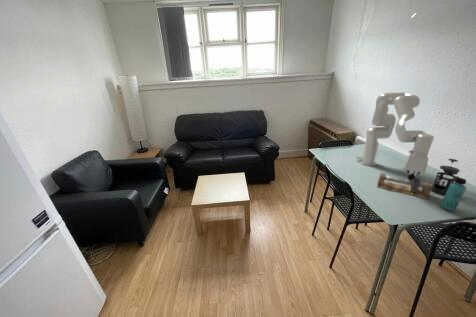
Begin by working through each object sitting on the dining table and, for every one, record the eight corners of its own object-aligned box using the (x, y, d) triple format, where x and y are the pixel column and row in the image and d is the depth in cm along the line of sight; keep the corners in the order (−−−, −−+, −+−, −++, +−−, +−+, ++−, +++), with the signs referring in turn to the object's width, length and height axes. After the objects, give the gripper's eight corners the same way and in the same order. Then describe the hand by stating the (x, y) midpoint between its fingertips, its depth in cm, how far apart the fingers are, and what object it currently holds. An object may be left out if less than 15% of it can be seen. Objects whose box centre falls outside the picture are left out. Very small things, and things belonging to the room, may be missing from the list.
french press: (433, 194, 132) (447, 161, 122) (426, 186, 140) (438, 155, 131) (456, 196, 128) (472, 163, 119) (447, 189, 136) (461, 157, 127)
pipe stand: (377, 187, 141) (379, 177, 138) (378, 180, 149) (380, 171, 146) (428, 199, 127) (432, 188, 124) (426, 191, 134) (430, 181, 131)
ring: (411, 191, 132) (415, 180, 128) (410, 186, 137) (414, 175, 134) (416, 192, 130) (420, 181, 127) (415, 187, 136) (419, 176, 133)
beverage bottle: (436, 206, 120) (449, 176, 112) (446, 205, 121) (460, 175, 113) (447, 213, 114) (462, 182, 106) (458, 212, 115) (473, 181, 107)
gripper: (404, 153, 127) (396, 179, 134) (436, 158, 119) (426, 185, 126) (404, 149, 132) (396, 174, 140) (434, 154, 124) (424, 180, 132)
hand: (410, 179), depth 133 cm, fingers closed
